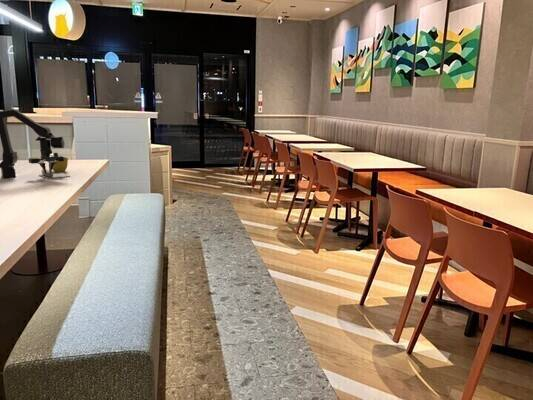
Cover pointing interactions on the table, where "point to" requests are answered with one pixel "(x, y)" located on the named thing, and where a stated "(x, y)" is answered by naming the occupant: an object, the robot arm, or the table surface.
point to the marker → (47, 173)
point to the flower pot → (60, 165)
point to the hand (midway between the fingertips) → (48, 173)
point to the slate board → (55, 176)
